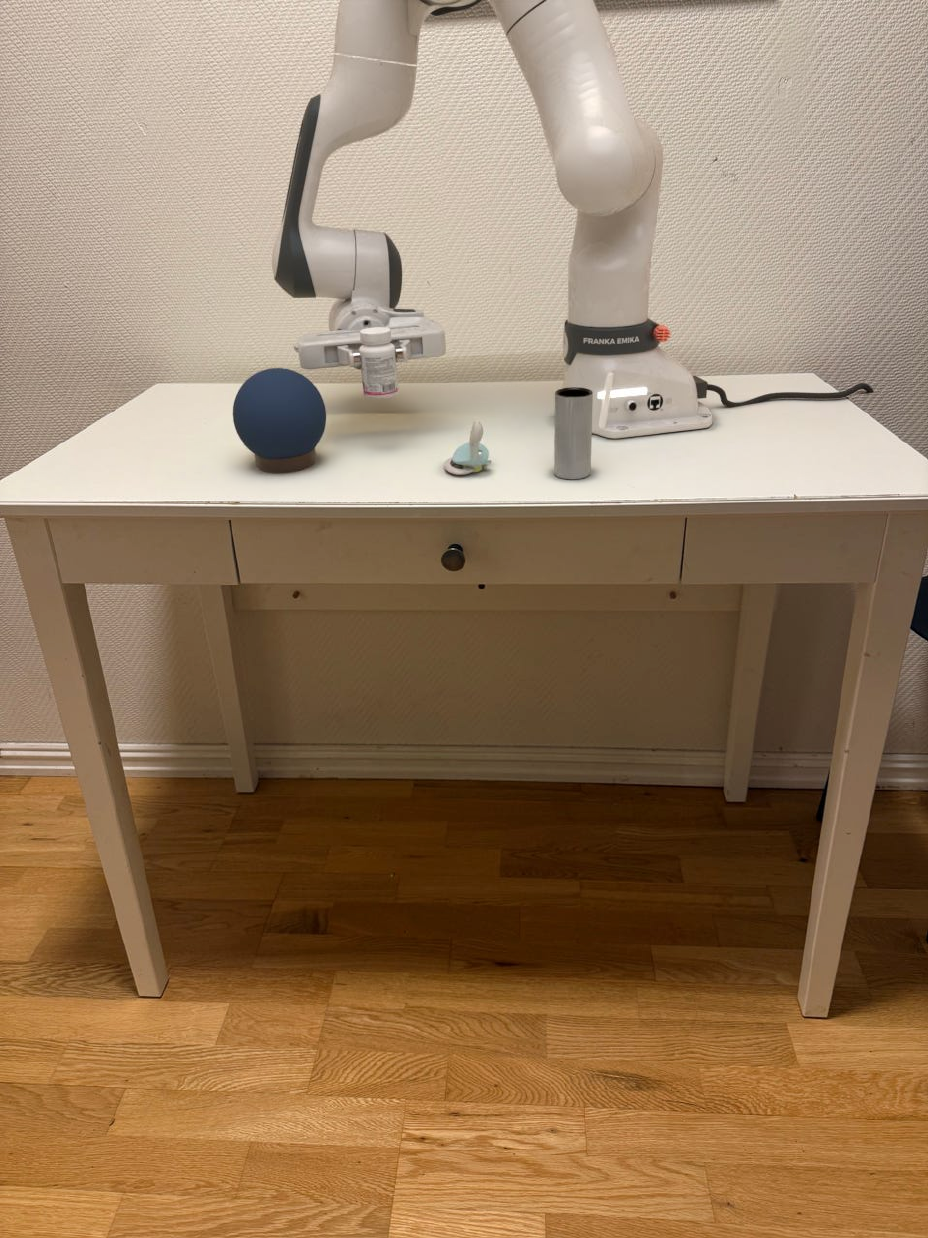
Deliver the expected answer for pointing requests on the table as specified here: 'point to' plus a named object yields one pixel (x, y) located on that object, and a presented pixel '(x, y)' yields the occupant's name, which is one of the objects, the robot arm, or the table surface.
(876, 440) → the table surface
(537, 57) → the robot arm
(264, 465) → the ball stand
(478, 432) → the pacifier
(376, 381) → the pill bottle
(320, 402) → the ball
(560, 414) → the grey cylinder
